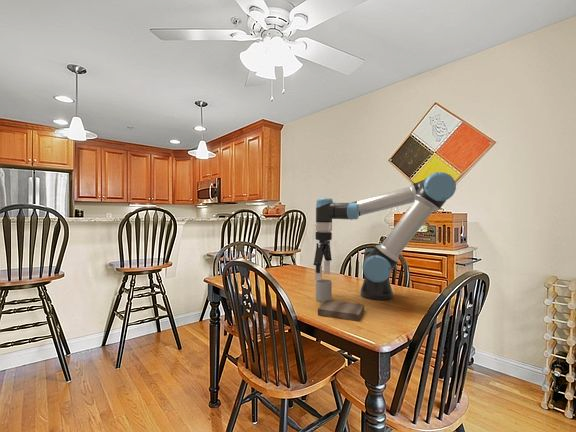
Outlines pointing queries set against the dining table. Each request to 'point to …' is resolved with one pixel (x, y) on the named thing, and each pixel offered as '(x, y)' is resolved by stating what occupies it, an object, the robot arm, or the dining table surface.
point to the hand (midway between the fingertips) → (322, 277)
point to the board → (341, 310)
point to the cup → (323, 290)
